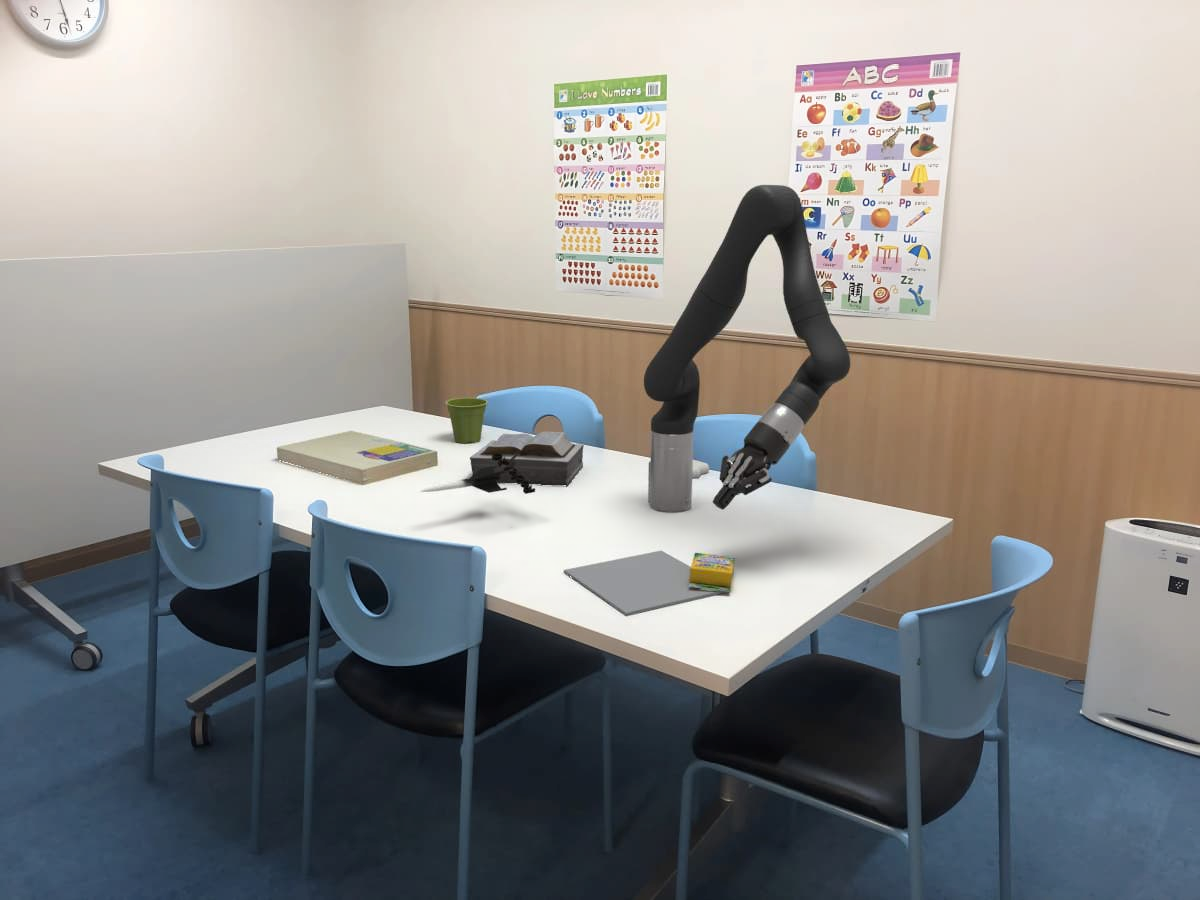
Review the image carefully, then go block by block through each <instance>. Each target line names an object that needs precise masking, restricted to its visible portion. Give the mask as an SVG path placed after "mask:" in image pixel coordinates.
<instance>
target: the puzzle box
mask: <svg viewBox="0 0 1200 900" xmlns="http://www.w3.org/2000/svg"><path fill="white" fill-rule="evenodd" d="M276 456H277V461H278V460H281V461H284V462H288V463H291V464H294V465H298V466H301V467H304V468H307V469H306V470H308V469H311V470H314V471H313V472H315V471H317V472H316V473H318V472H321V473H320V474H322V473H324V474H323V475H325V474H328V475H327V476H329V475H331V476H330V477H332V476H334V477H333V478H336V477H338V478H337V479H340V478H341V479H340V480H343V479H345V480H344V481H347V480H348V482H351V483H354V482H355V484H359V485H362V486H366V485H369V484H374V483H377V482H380V481H385V480H388V479H393V478H396V477H399V476H404V475H407V474H410V473H411V474H412V473H413V472H418V471H422V470H425V469H431V468H434V467H437V466H438V464H439V460H438V451H437V450H434V449H429V448H426V447H422V446H418V445H414V444H409V443H406V442H402V441H397V440H394V439H389V438H385V437H380V436H376V435H373V434H371V435H370V434H368V433H362V432H358V431H354V430H348V431H345V432H338V433H334V434H329V435H326V436H322V437H317V438H312V439H309V440H308V439H307V440H303V441H298V442H294V443H289V444H285V445H280V446H276ZM304 468H303V469H304ZM311 470H310V471H311Z"/></svg>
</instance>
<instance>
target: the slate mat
mask: <svg viewBox="0 0 1200 900" xmlns="http://www.w3.org/2000/svg"><path fill="white" fill-rule="evenodd" d="M690 569H691V566H690V565H688V564H686V563H685V562H683V561H681V560H679V559H678V558H676V557H674V556H672V555H670V554H668V553H666V552H665V551H663V550H657V551H652V552H647V553H641V554H636V555H633V556H627V557H620V558H616V559H612V560H611V559H610V560H607V561H601V562H598V563H593V564H587V565H582V566H577V567H572V568H567V569H563V573H564V572H565V573H566V574H565V573H564V574H565V575H567V574H568V575H569V576H568V575H567V576H568V577H570V576H571V577H572V578H574V579H575V580H576V581H575V580H574V579H573V580H574V581H575V582H577V581H578V582H579V583H578V582H577V583H578V584H580V585H581V584H582V585H581V586H583V587H584V586H585V587H586V588H585V587H584V588H585V589H587V588H588V589H589V591H590V590H591V591H592V592H591V591H590V592H591V593H593V592H594V593H595V594H596V596H597V595H598V596H599V597H598V596H597V597H598V598H600V599H601V598H602V599H601V600H603V599H604V600H605V601H604V600H603V601H604V602H606V603H607V602H608V603H609V606H611V605H612V606H611V607H613V608H614V607H615V608H614V609H616V610H617V611H618V612H620V613H621V614H623V615H625V616H626V617H628V616H632V615H635V614H640V613H645V612H648V611H654V610H657V609H662V608H665V607H669V606H674V605H678V604H682V603H687V602H691V601H696V600H700V599H704V598H708V597H713V596H716V595H717V596H718V595H721V594H725V593H727V592H726V591H718V590H710V589H702V588H694V587H689V584H690V583H689V579H690ZM571 577H570V578H571ZM572 578H571V579H572ZM701 587H706V586H701ZM707 588H714V587H709V586H707ZM588 589H587V590H588ZM716 589H719V588H716ZM731 591H732V589H731V588H730V592H731ZM594 593H593V594H594ZM595 594H594V595H595ZM608 603H607V604H608Z"/></svg>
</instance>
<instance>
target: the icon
mask: <svg viewBox="0 0 1200 900" xmlns="http://www.w3.org/2000/svg"><path fill="white" fill-rule="evenodd" d="M709 472H710V466H709V464H708V463H707V462H703V461H699V460H695V459H693V469H692V479H699V478H700V476H701V475H706V474H708V473H709Z"/></svg>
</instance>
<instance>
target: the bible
mask: <svg viewBox="0 0 1200 900" xmlns="http://www.w3.org/2000/svg"><path fill="white" fill-rule="evenodd" d="M584 447H585V445H584V444H583V443H572V442H571V441H570V439H569V437H568V435H567V434H566V433H565V432H564V431H563V432H559V431H557V432H556V431H540V432H539V433H537V434H536V435H534V436H533V435H532V434H529V433H502V435H501V436H499V437H498V438H497V440H495V439H494V440H493V439H492V440H491V441H490V442H488V443H487V444H486V445H485V446H483V447H482V448H481V449H479V450H478V451H477V452H475V453H474V454H472V455H471V456H470V457H469V460H470V467H471V474H472V475H474V474H475V473H476V472H477V471H479V470H480V469H481V468H485V467H489V466H495V465H498V461H499V460H493V459H492V455H493V454H496V453H500V454H502V455H503V457H502V459H501V460H503V458H504V457H505V459H507V460H508V461H509V462H510V463H509V465H504V464H502V466H501V467H496V468H494V473H496V472H500V471H504V468H505V467H506V466H507V467H511V465H513V470H514V468H516V469H517V474H518V472H520V474H519V475H522V476H523V477H525V481H528V482H529V483H530V484H541V485H540V486H542V485H566V486H565V487H568V485H569V484H570V485H571V484H572V482H573V481H574V480H575V478H576V477H577V476H578V475H579V474H580V472H581V470H582V469H583V467H584V462H583V457H584V455H583V454H584ZM579 471H580V472H579ZM472 475H471V476H472ZM576 475H577V476H576ZM575 476H576V477H575ZM511 477H512V475H510V474H509V472H505V473H503V474H501V475H500V480H497V481H496V482H497V484H505V483H517V484H516V485H521V483H518V482H517V481H516V479H515V480H511ZM520 479H521V478H520ZM573 479H574V480H573ZM572 480H573V481H572ZM570 485H569V486H570Z"/></svg>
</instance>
